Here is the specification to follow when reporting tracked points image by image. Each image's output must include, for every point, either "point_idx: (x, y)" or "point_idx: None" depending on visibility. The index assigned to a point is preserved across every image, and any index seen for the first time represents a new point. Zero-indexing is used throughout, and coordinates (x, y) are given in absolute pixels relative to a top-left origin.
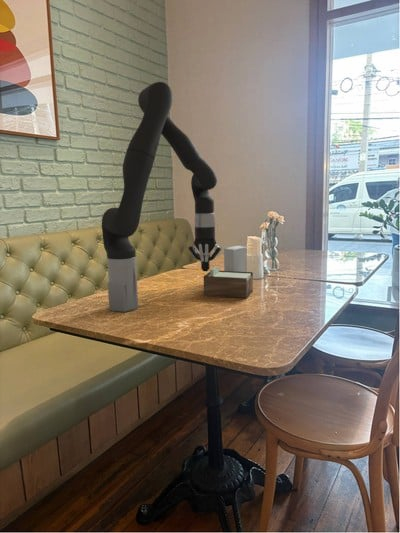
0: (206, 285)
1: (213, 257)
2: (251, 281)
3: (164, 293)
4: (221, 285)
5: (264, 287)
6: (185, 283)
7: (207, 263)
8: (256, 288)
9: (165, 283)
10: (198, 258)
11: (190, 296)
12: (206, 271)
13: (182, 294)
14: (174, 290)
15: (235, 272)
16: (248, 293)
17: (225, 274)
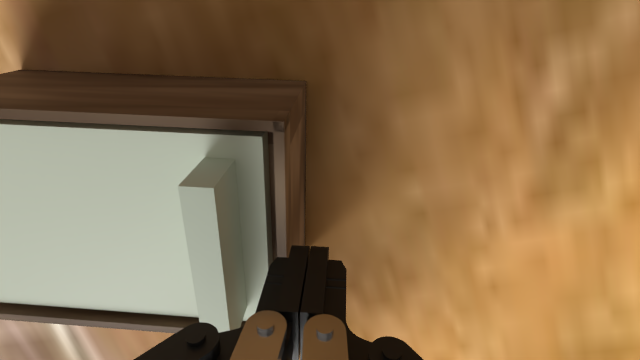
0: (272, 97)
1: (151, 354)
2: None
3: (614, 76)
4: (142, 93)
5: None
6: (495, 324)
7: (268, 306)
8: None
9: (628, 310)
10: (379, 352)
11: (395, 38)
12: (294, 247)
13: (466, 79)
14: (544, 168)
15: (103, 316)
16: None
17: (142, 249)
